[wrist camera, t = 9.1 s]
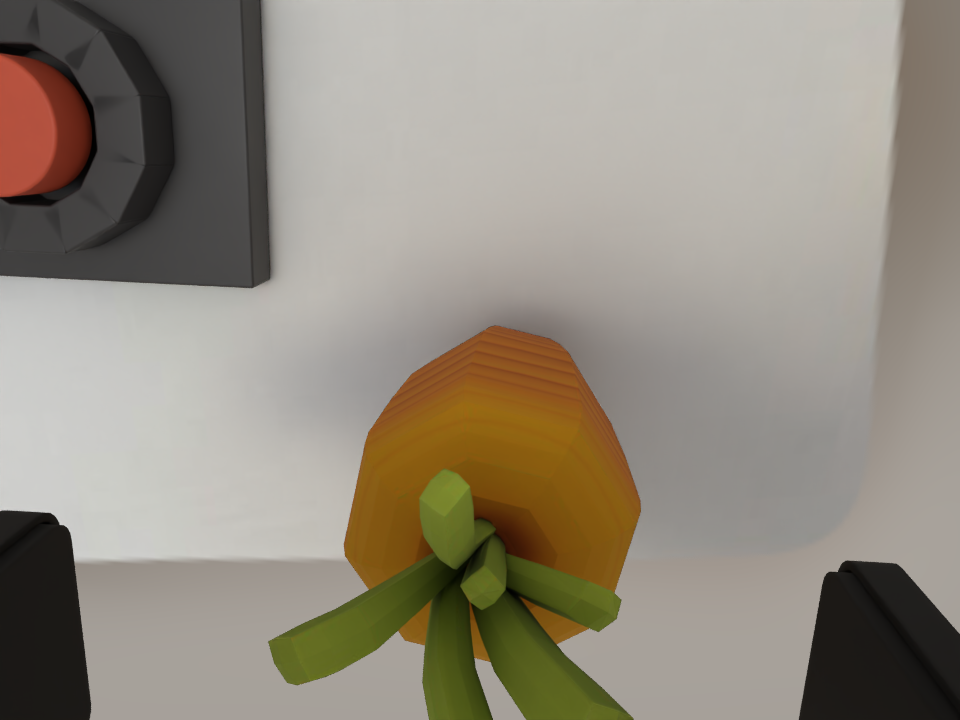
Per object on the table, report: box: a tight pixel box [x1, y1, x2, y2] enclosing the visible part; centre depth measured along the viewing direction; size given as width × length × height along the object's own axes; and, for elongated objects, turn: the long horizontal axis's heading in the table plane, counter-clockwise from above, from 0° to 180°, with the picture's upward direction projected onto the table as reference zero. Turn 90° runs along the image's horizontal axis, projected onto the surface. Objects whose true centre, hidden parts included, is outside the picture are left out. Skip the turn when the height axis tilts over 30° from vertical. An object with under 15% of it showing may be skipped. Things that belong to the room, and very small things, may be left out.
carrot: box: [268, 326, 641, 720], centre depth 15 cm, size 5×5×15 cm
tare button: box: [0, 53, 92, 197], centre depth 19 cm, size 3×3×2 cm
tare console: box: [0, 0, 270, 288], centre depth 20 cm, size 10×8×3 cm
